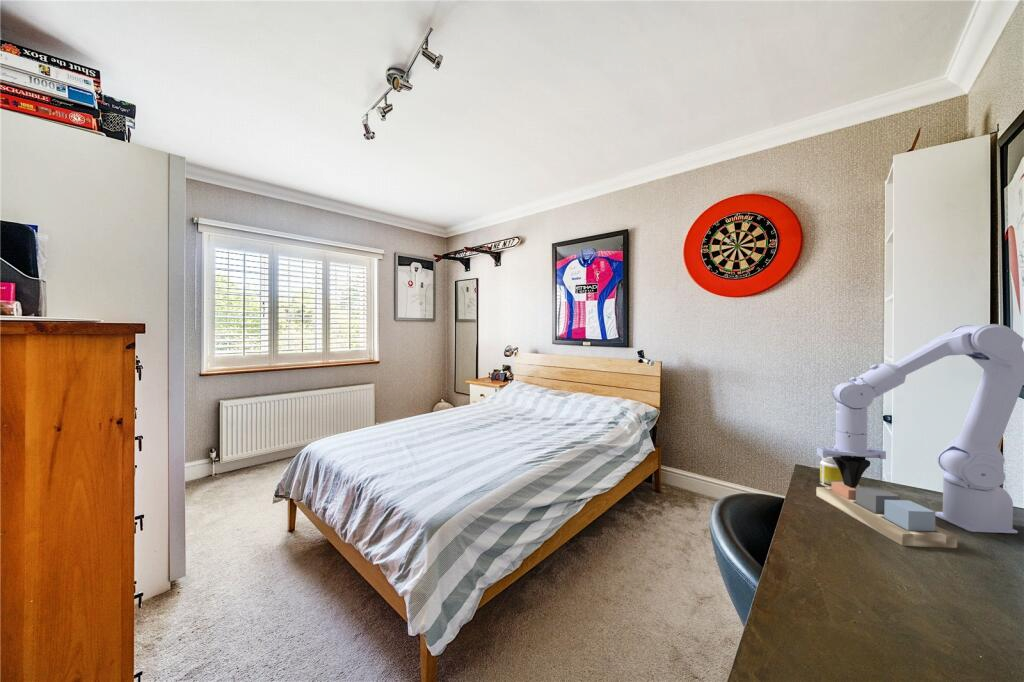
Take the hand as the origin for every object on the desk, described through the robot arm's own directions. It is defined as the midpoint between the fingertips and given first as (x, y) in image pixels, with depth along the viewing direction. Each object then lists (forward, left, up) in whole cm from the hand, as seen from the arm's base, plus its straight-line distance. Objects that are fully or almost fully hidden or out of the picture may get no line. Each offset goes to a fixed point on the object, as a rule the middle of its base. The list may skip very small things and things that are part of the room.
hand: (850, 486), depth 89 cm
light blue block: (0, +14, -2) cm, 14 cm away
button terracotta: (0, 0, -4) cm, 4 cm away
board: (0, +7, -4) cm, 8 cm away
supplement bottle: (-4, -11, -5) cm, 13 cm away
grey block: (0, +7, -2) cm, 7 cm away
